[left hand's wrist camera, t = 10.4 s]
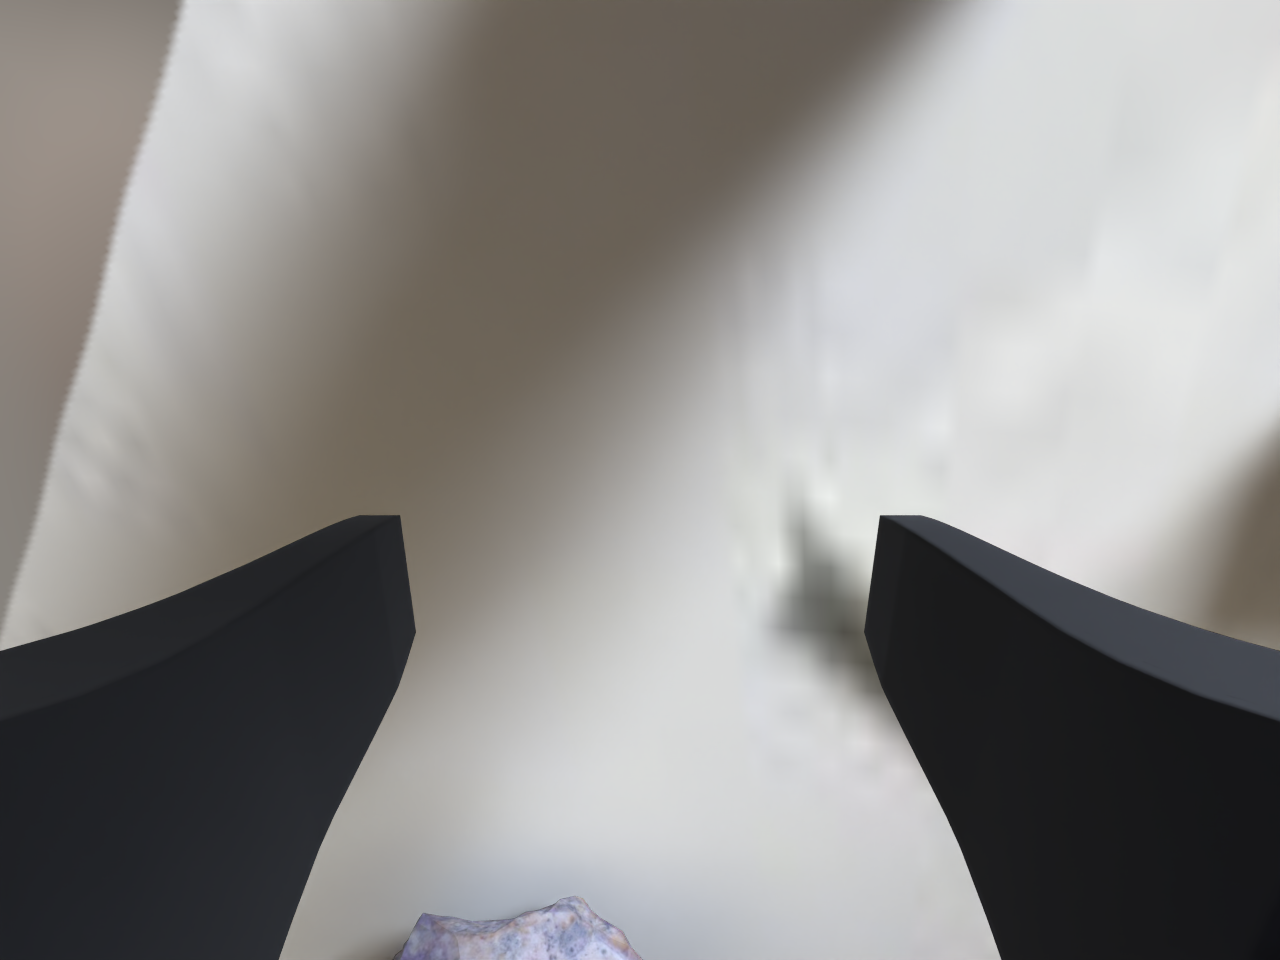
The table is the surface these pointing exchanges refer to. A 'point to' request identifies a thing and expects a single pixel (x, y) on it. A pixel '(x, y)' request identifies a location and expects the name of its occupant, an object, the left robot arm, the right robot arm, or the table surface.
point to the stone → (520, 937)
